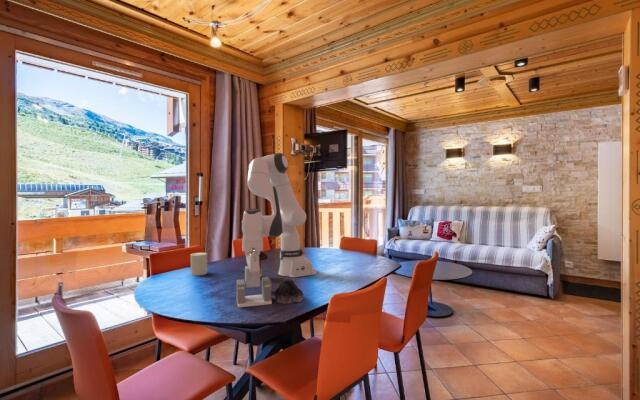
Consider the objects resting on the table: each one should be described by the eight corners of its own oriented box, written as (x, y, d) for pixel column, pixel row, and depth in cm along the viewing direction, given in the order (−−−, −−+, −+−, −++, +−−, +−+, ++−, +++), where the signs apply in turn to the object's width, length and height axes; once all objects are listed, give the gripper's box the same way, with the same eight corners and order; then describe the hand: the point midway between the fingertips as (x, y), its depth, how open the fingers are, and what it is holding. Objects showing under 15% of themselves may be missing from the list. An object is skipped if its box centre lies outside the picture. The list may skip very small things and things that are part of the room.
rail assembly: (268, 295, 146) (267, 276, 146) (271, 303, 136) (271, 282, 136) (236, 299, 142) (236, 278, 142) (237, 307, 132) (237, 285, 131)
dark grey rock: (289, 294, 151) (286, 273, 151) (311, 297, 143) (308, 275, 142) (268, 304, 141) (265, 282, 140) (290, 308, 132) (287, 284, 132)
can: (191, 272, 190) (190, 252, 190) (207, 271, 193) (207, 251, 193) (189, 276, 182) (189, 255, 181) (207, 274, 184) (206, 254, 184)
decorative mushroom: (264, 280, 172) (264, 252, 172) (245, 279, 174) (244, 252, 173) (270, 275, 183) (270, 249, 182) (252, 274, 184) (252, 248, 184)
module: (258, 283, 142) (258, 265, 142) (260, 286, 137) (260, 267, 137) (244, 284, 140) (244, 266, 140) (245, 287, 136) (245, 268, 135)
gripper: (262, 250, 129) (262, 284, 130) (257, 242, 149) (257, 272, 149) (247, 251, 128) (247, 285, 128) (243, 243, 147) (243, 273, 147)
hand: (252, 278), depth 139 cm, fingers closed on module, 5 cm apart
